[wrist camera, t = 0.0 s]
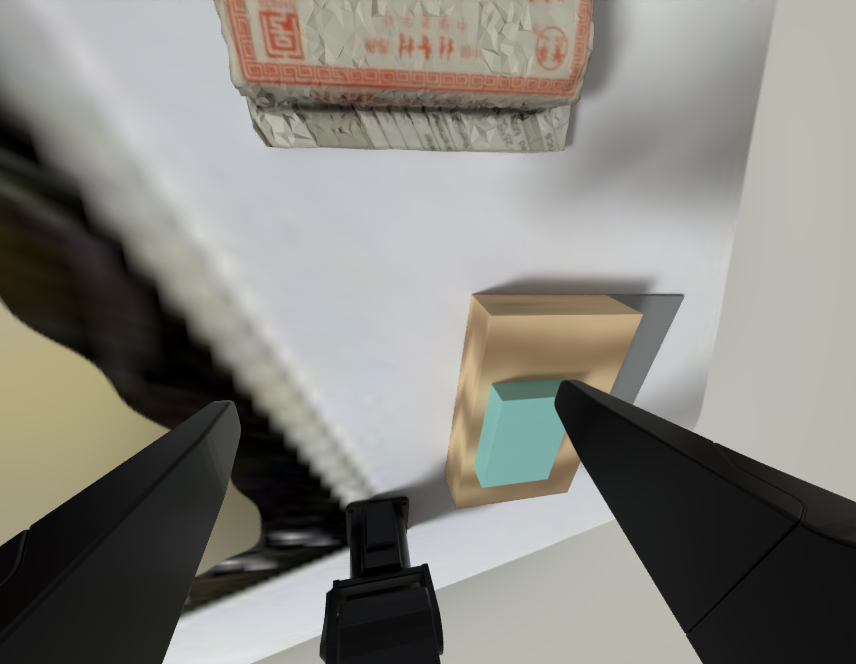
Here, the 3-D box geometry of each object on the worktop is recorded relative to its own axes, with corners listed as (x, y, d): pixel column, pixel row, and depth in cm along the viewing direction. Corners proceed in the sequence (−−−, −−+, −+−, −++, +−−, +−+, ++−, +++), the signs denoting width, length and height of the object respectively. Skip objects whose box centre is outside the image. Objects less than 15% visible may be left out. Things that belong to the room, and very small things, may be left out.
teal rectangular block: (535, 460, 28) (547, 478, 27) (473, 467, 27) (481, 488, 25) (562, 379, 24) (578, 395, 23) (491, 383, 23) (502, 400, 21)
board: (546, 460, 35) (567, 492, 32) (444, 473, 33) (455, 509, 29) (605, 294, 26) (643, 314, 23) (471, 294, 24) (491, 315, 20)
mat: (606, 453, 37) (608, 455, 37) (546, 460, 35) (548, 462, 35) (681, 295, 28) (684, 296, 28) (605, 294, 26) (608, 296, 26)
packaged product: (233, 144, 13) (130, -268, 9) (262, 150, 18) (203, -127, 13) (601, 150, 17) (669, -150, 12) (551, 153, 21) (587, -67, 16)
